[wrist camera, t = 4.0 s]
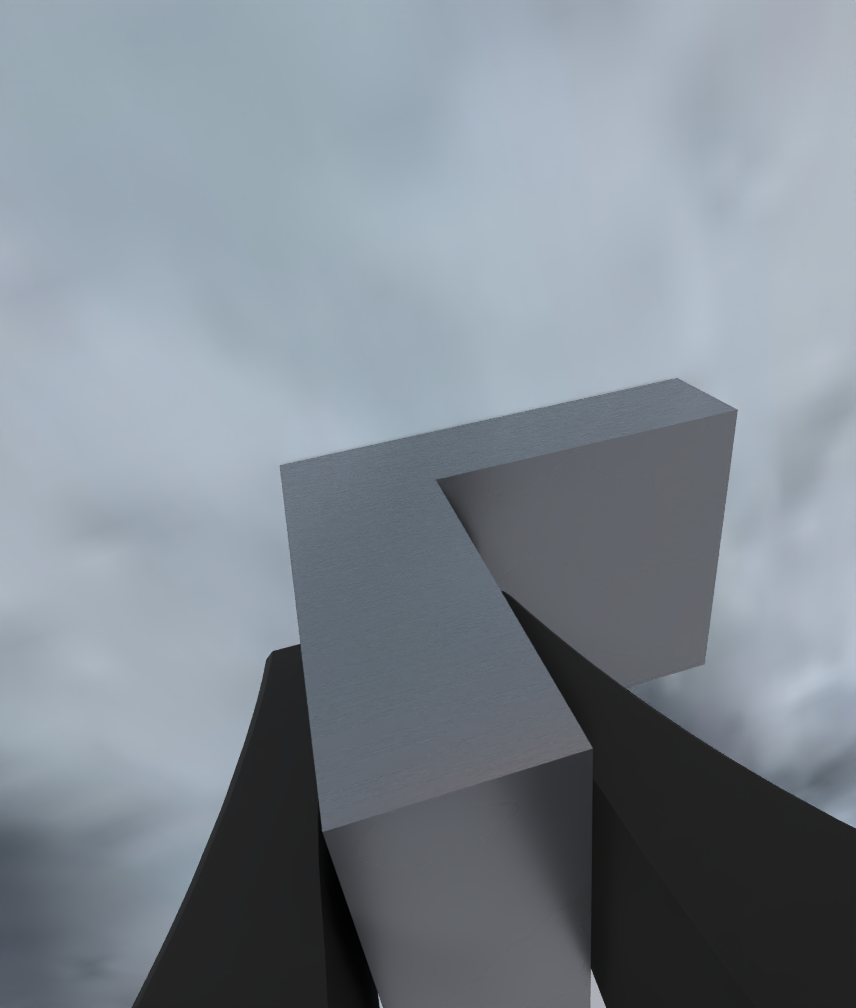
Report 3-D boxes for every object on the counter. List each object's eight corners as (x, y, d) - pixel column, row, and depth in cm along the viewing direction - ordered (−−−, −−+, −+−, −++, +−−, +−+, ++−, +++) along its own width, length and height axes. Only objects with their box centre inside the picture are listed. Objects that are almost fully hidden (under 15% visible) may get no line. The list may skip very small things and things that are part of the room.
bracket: (343, 702, 12) (417, 1108, 7) (279, 465, 9) (322, 832, 4) (659, 613, 13) (928, 913, 8) (677, 378, 10) (1090, 593, 5)
